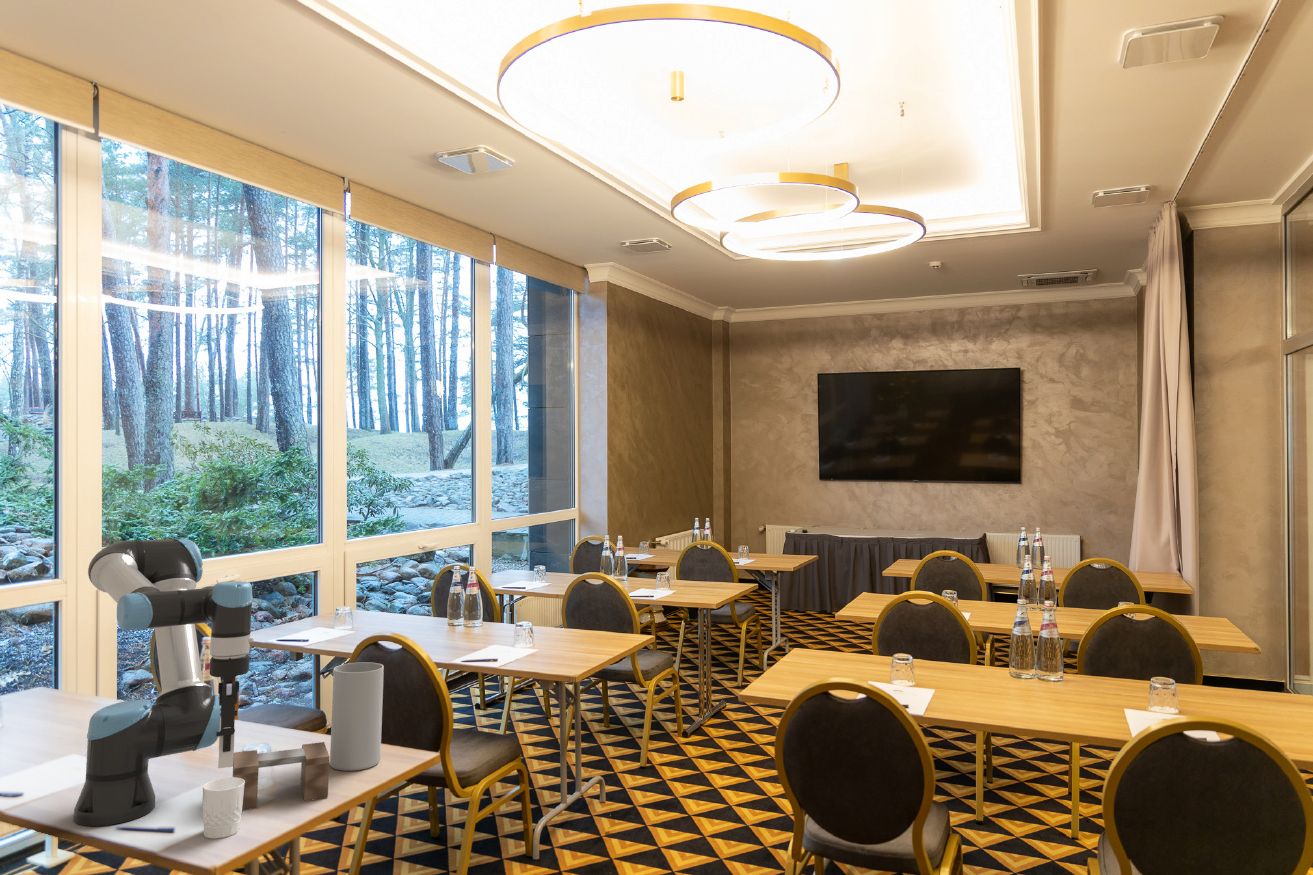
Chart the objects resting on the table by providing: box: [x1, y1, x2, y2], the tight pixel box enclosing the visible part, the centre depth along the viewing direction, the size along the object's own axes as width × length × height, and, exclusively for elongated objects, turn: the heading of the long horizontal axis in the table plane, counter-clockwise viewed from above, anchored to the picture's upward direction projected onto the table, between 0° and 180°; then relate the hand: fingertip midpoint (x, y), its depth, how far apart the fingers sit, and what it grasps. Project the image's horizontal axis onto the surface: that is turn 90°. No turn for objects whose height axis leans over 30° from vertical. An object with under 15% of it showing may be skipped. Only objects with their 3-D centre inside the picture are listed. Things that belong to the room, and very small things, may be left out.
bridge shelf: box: [232, 741, 330, 811], centre depth 195 cm, size 20×12×10 cm, turn 117°
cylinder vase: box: [329, 661, 385, 772], centre depth 219 cm, size 12×12×25 cm
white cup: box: [202, 776, 245, 840], centre depth 175 cm, size 8×8×10 cm
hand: (225, 757), depth 175 cm, fingers open, 13 cm apart
